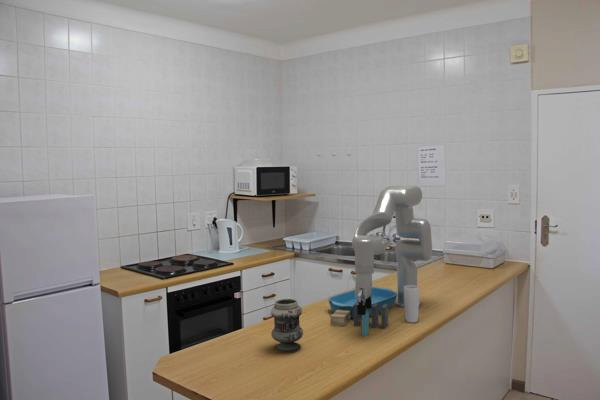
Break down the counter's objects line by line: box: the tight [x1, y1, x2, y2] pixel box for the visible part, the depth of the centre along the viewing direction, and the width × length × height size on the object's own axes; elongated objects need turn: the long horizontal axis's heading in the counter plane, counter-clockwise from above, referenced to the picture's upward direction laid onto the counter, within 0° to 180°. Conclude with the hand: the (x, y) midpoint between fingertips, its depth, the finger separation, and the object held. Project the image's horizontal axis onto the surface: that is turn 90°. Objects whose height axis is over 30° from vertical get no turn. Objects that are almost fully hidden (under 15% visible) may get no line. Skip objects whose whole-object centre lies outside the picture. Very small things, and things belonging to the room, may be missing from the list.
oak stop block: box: [330, 310, 352, 327], centre depth 214 cm, size 10×6×4 cm, turn 158°
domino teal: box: [361, 310, 370, 337], centre depth 199 cm, size 2×5×9 cm, turn 158°
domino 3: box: [380, 304, 389, 330], centre depth 207 cm, size 2×5×9 cm, turn 158°
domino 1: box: [353, 302, 361, 327], centre depth 212 cm, size 2×5×9 cm, turn 158°
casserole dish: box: [327, 286, 397, 319], centre depth 233 cm, size 37×22×7 cm, turn 133°
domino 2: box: [371, 303, 379, 329], centre depth 209 cm, size 2×5×9 cm, turn 158°
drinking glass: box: [404, 285, 421, 323], centre depth 214 cm, size 7×7×15 cm
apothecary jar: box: [270, 298, 304, 354], centre depth 185 cm, size 12×12×18 cm
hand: (364, 311), depth 198 cm, fingers open, 9 cm apart
